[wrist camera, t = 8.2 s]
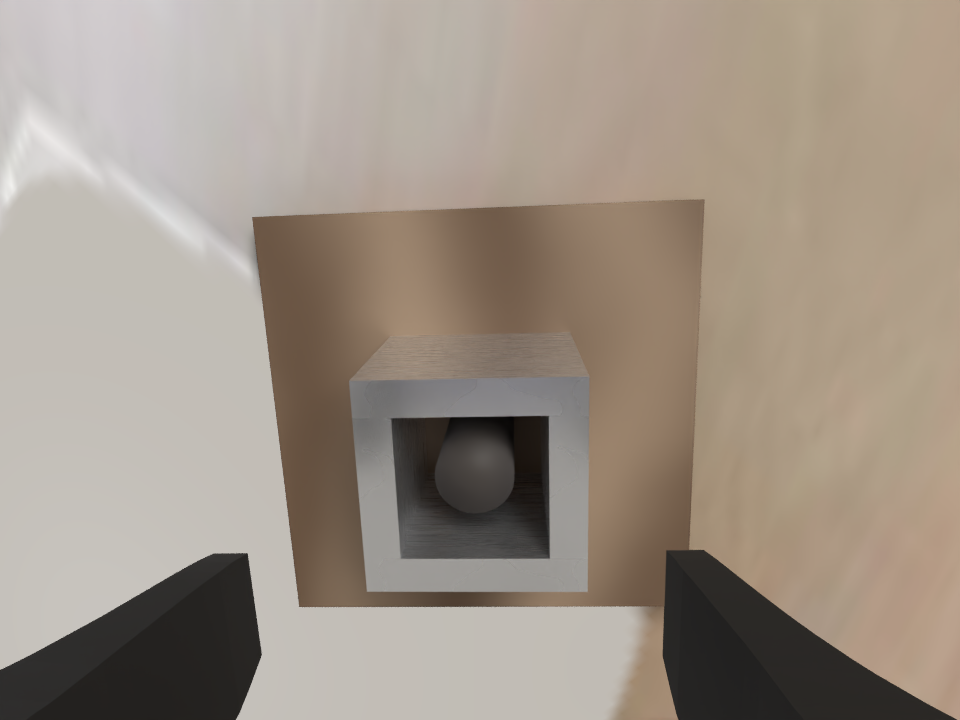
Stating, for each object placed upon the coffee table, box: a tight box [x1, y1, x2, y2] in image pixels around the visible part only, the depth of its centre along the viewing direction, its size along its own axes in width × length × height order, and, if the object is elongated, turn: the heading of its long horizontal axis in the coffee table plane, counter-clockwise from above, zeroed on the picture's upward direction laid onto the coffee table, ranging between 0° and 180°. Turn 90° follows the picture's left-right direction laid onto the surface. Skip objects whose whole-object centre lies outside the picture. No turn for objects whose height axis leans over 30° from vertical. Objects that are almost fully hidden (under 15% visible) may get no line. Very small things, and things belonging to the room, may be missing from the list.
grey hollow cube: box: [349, 332, 589, 592], centre depth 17 cm, size 5×5×5 cm
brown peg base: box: [252, 200, 704, 607], centre depth 18 cm, size 13×13×5 cm
